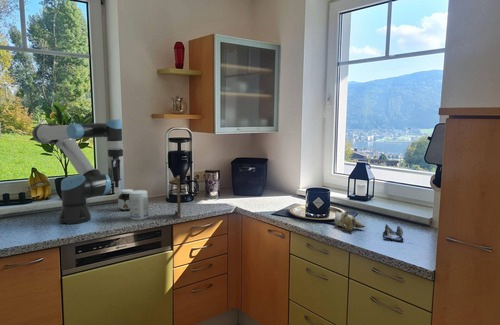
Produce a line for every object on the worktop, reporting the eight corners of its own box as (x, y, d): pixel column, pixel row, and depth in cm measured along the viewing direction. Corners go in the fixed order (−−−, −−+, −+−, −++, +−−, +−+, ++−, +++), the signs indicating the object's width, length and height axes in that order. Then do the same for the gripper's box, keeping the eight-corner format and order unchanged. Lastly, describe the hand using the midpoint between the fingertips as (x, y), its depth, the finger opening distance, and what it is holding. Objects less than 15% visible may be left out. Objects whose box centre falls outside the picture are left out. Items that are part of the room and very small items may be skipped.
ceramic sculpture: (343, 206, 191) (367, 214, 179) (342, 222, 193) (365, 231, 181) (328, 209, 186) (352, 218, 173) (327, 226, 187) (350, 235, 175)
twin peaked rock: (413, 239, 169) (390, 232, 178) (413, 226, 167) (389, 219, 177) (398, 249, 162) (374, 241, 171) (397, 235, 160) (373, 228, 170)
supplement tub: (144, 214, 208) (143, 189, 206) (151, 218, 201) (150, 191, 199) (127, 217, 202) (126, 191, 200) (134, 221, 195) (133, 194, 193)
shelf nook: (171, 219, 200) (170, 178, 197) (171, 214, 209) (170, 175, 207) (180, 218, 201) (179, 178, 198) (180, 213, 210) (179, 175, 208)
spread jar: (116, 210, 218) (115, 191, 216) (128, 206, 229) (127, 187, 227) (133, 212, 214) (133, 192, 213) (145, 207, 225) (144, 188, 224)
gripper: (120, 149, 189) (123, 195, 192) (124, 147, 202) (126, 190, 204) (105, 150, 187) (107, 195, 190) (110, 148, 200) (112, 190, 203)
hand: (117, 192), depth 197 cm, fingers closed
